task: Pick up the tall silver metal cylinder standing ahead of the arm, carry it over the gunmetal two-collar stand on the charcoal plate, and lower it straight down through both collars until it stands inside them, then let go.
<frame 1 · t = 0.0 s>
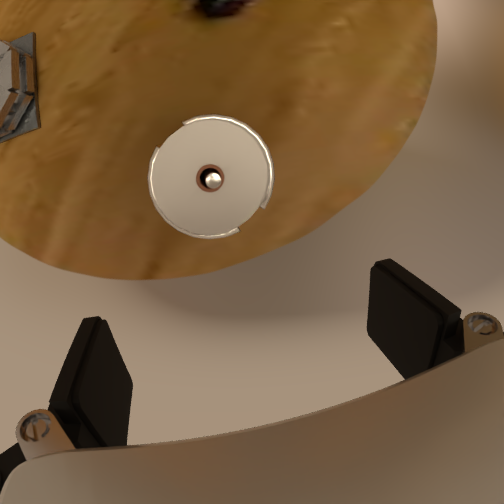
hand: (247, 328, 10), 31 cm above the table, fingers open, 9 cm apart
collar stand: (2, 93, 28), on the table
silver metal cylinder: (197, 152, 38), on the table
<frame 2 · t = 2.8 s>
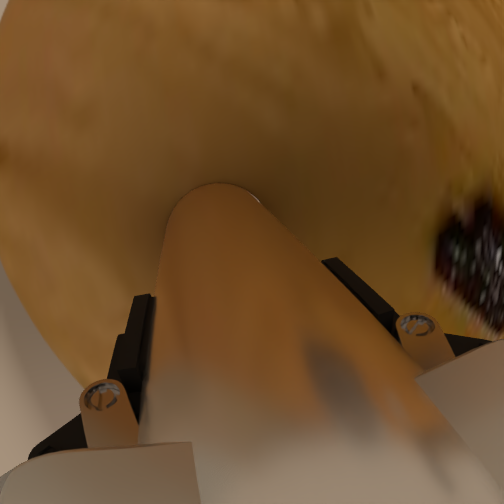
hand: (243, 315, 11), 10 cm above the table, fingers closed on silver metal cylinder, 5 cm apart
silver metal cylinder: (218, 233, 20), on the table, touching gripper
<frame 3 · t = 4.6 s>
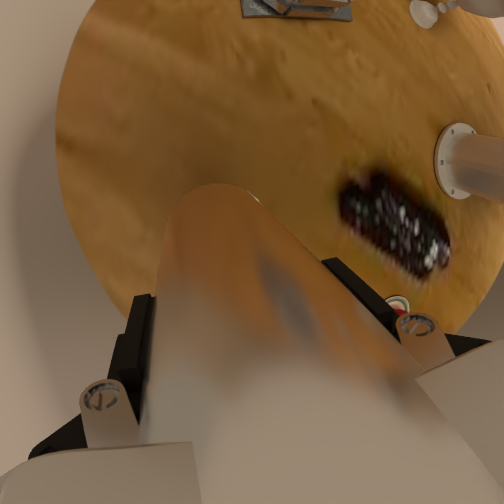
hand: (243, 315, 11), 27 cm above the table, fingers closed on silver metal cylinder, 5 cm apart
apple: (388, 315, 50), on the table
silver metal cylinder: (217, 233, 20), point 17 cm above the table, touching gripper
chalice: (420, 14, 32), on the table
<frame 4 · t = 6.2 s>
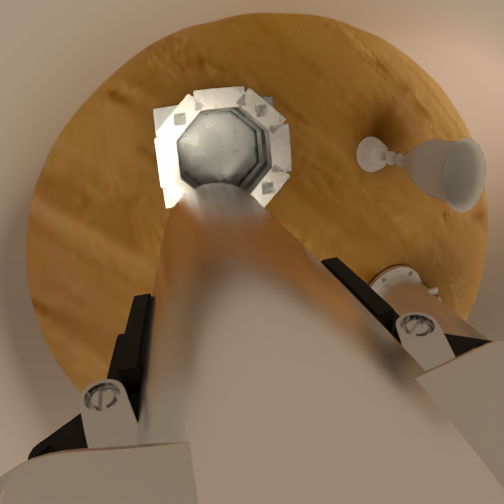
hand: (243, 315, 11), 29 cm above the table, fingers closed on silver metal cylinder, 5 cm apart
collar stand: (217, 149, 37), on the table
silver metal cylinder: (216, 233, 20), point 20 cm above the table, touching gripper
chalice: (370, 154, 41), on the table
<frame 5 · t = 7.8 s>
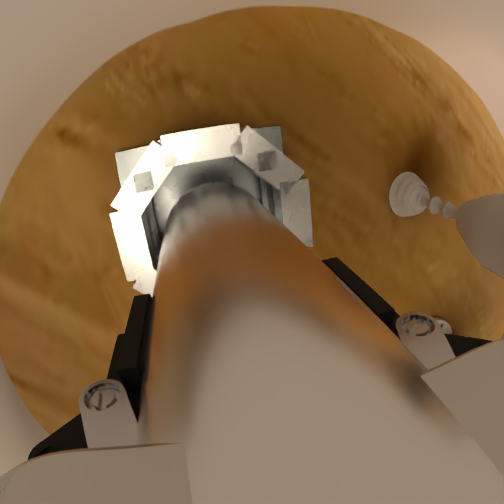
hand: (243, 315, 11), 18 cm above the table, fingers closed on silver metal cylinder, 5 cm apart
collar stand: (207, 203, 28), on the table
silver metal cylinder: (216, 232, 20), point 8 cm above the table, touching gripper
chalice: (405, 194, 32), on the table
when the fingers open (11 cm above the table, at t = 9.4 s): silver metal cylinder stays where it is, resting on collar stand.
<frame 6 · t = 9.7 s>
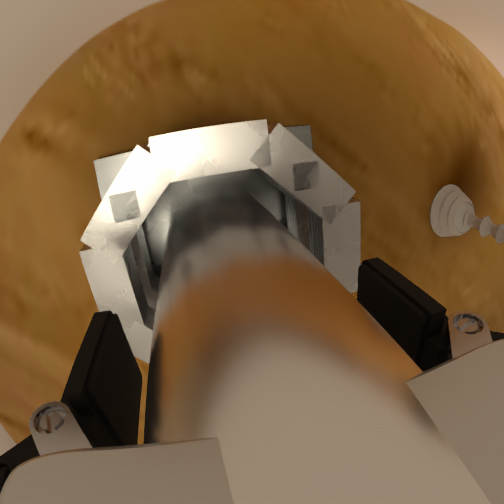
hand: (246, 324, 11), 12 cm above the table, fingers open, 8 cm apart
collar stand: (214, 225, 22), on the table
silver metal cylinder: (218, 229, 21), point 1 cm above the table, touching collar stand
chalice: (447, 210, 26), on the table
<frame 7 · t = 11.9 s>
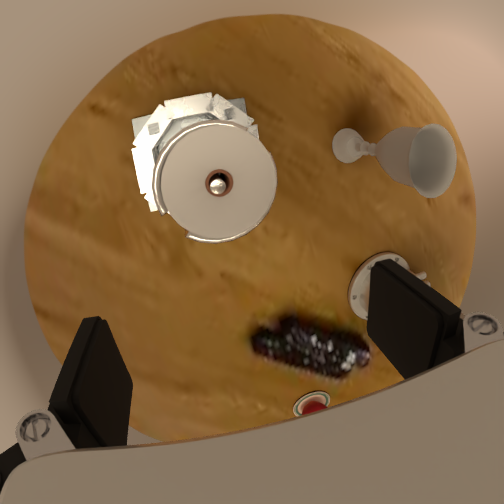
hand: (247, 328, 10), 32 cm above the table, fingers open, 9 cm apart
collar stand: (195, 153, 39), on the table
apple: (310, 402, 60), on the table
silver metal cylinder: (197, 153, 38), point 1 cm above the table, touching collar stand
chalice: (347, 145, 42), on the table
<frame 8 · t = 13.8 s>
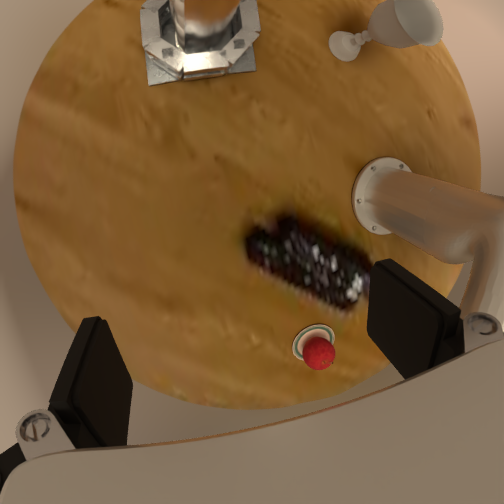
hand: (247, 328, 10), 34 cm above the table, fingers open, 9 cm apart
collar stand: (197, 37, 35), on the table
apple: (312, 341, 56), on the table
silver metal cylinder: (198, 36, 34), point 1 cm above the table, touching collar stand
chalice: (343, 46, 38), on the table
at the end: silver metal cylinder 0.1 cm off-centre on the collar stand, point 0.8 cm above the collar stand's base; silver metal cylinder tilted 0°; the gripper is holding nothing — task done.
